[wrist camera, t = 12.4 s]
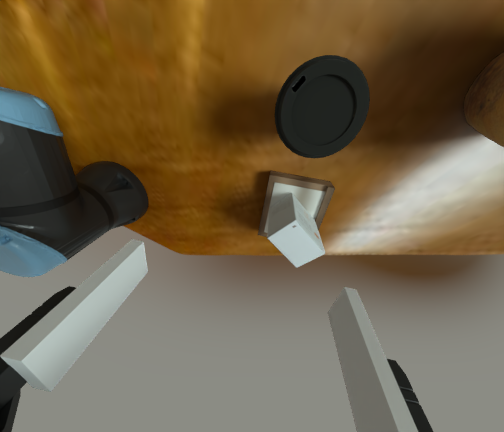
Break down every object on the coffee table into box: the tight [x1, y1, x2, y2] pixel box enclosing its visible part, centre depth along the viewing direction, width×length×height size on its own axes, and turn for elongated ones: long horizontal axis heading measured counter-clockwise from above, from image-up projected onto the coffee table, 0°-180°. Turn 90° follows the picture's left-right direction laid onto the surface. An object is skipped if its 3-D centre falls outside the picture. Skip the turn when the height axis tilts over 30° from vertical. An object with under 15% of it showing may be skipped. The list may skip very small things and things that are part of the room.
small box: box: [267, 193, 325, 268], centre depth 34 cm, size 8×6×10 cm
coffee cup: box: [275, 55, 370, 158], centre depth 26 cm, size 10×10×15 cm
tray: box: [258, 171, 335, 237], centre depth 39 cm, size 12×14×4 cm
